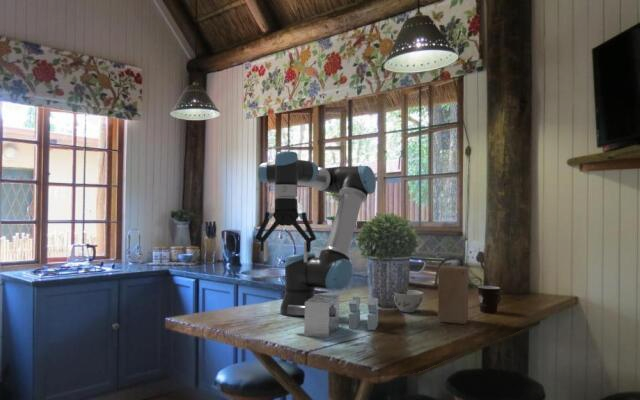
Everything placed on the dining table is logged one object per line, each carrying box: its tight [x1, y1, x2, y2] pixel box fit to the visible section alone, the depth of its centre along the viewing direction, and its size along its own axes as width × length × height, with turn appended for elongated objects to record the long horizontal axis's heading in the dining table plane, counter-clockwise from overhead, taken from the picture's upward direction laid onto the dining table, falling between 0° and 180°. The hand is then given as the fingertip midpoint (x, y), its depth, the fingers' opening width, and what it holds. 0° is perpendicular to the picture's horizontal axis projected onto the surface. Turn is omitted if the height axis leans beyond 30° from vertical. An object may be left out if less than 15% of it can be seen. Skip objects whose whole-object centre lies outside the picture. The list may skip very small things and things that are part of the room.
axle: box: [287, 305, 336, 317], centre depth 168 cm, size 16×3×3 cm, turn 76°
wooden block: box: [437, 265, 469, 325], centre depth 189 cm, size 10×10×20 cm
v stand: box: [348, 296, 379, 331], centre depth 178 cm, size 9×9×10 cm
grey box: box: [303, 293, 340, 338], centre depth 170 cm, size 8×16×11 cm, turn 166°
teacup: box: [393, 289, 424, 313], centre depth 208 cm, size 15×12×8 cm
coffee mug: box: [477, 285, 501, 314], centre depth 206 cm, size 12×9×10 cm
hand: (285, 261), depth 170 cm, fingers open, 13 cm apart
